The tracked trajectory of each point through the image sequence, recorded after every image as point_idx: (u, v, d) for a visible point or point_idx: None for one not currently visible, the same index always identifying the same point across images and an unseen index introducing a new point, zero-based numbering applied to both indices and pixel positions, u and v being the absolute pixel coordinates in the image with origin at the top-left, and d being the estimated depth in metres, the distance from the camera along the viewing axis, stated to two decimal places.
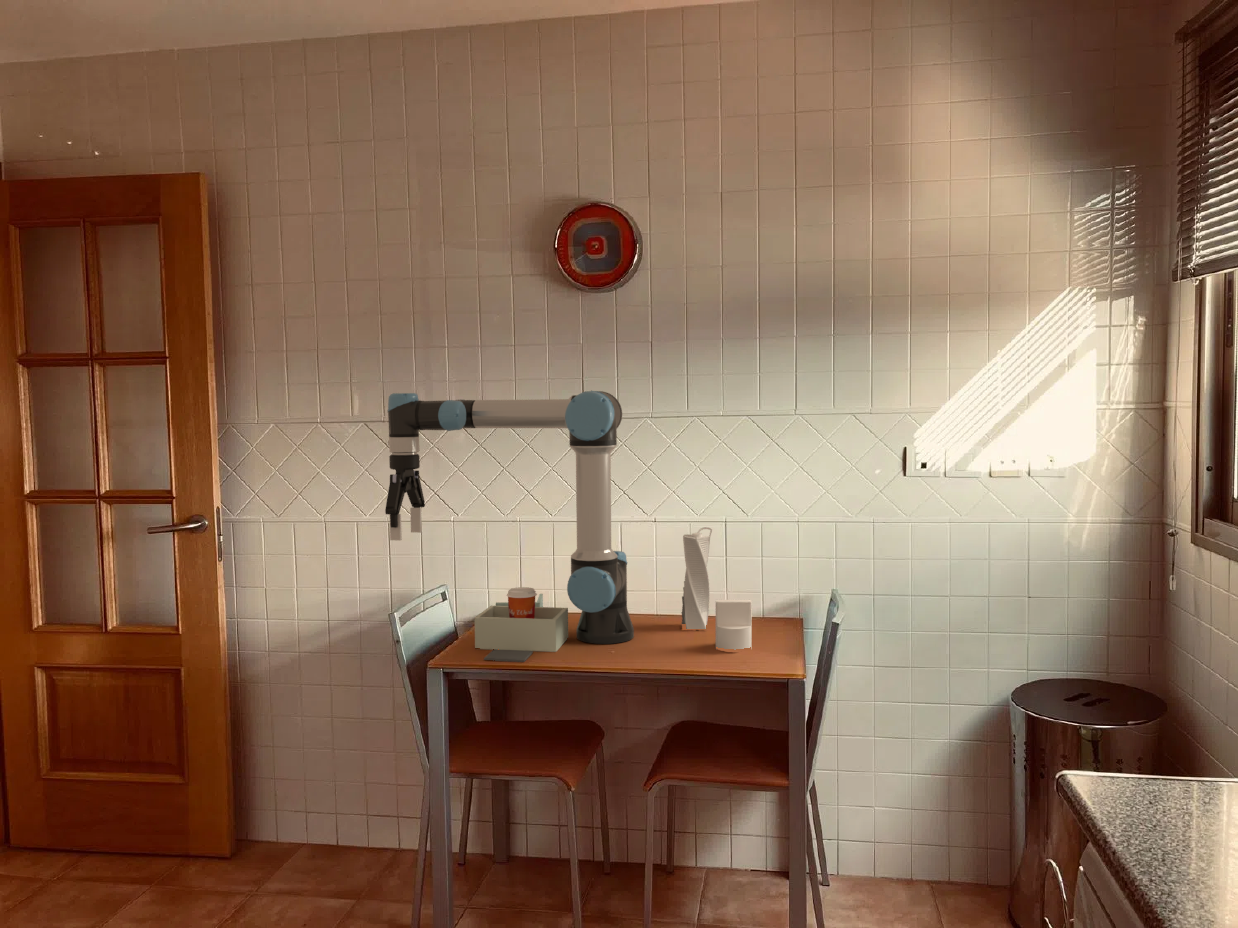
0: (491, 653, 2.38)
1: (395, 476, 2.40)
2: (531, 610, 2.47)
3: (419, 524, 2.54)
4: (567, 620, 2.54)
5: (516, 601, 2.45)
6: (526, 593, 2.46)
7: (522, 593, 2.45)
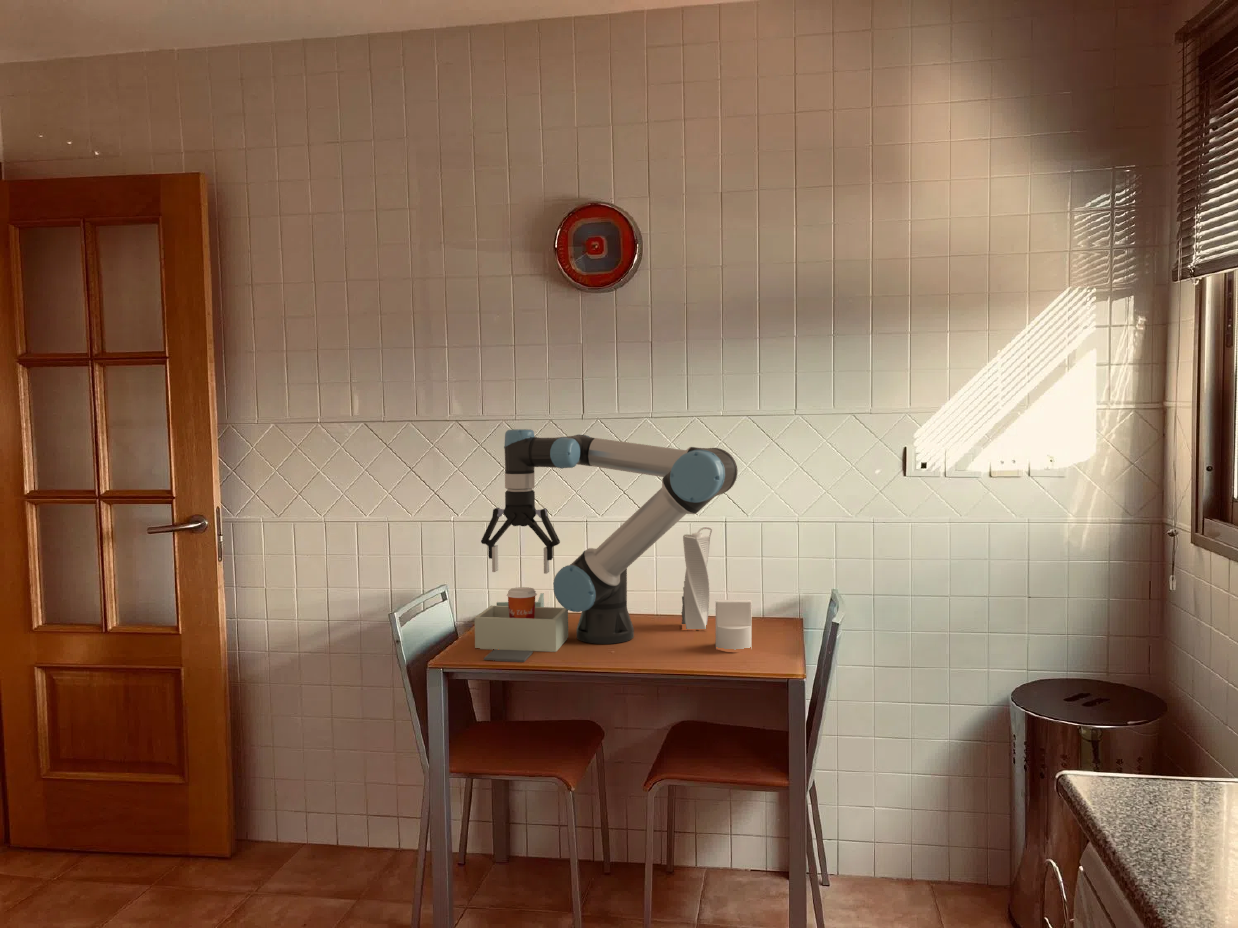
0: (491, 653, 2.38)
1: None
2: (531, 610, 2.47)
3: None
4: (567, 620, 2.54)
5: (516, 601, 2.45)
6: (526, 593, 2.46)
7: (522, 593, 2.45)
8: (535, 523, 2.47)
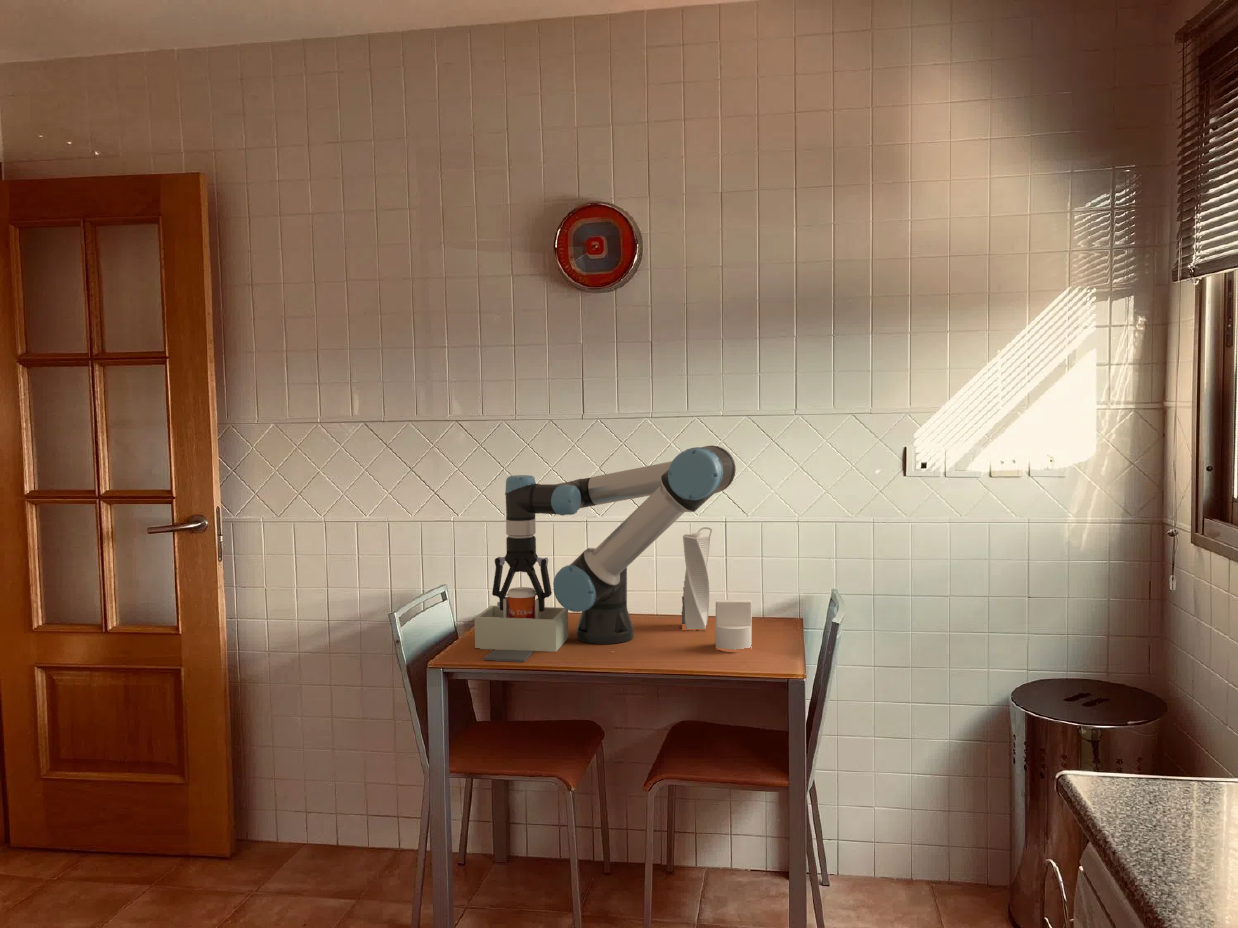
0: (491, 653, 2.38)
1: None
2: (531, 610, 2.47)
3: None
4: (567, 620, 2.54)
5: (516, 601, 2.45)
6: (526, 593, 2.46)
7: (522, 593, 2.45)
8: (533, 571, 2.48)
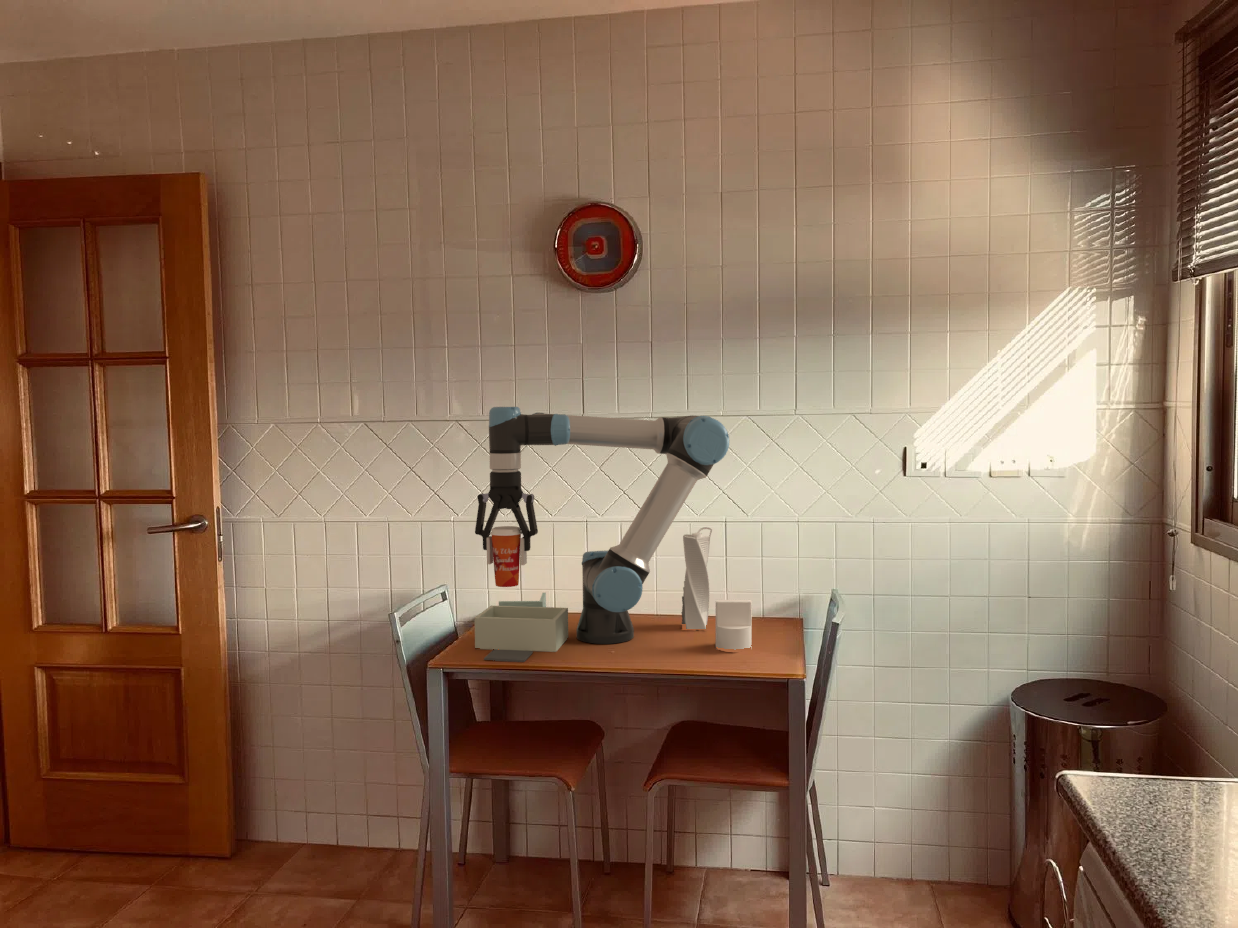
0: (491, 653, 2.38)
1: None
2: (516, 549, 2.33)
3: None
4: (567, 620, 2.54)
5: (500, 539, 2.31)
6: (511, 531, 2.32)
7: (506, 531, 2.31)
8: (518, 508, 2.34)
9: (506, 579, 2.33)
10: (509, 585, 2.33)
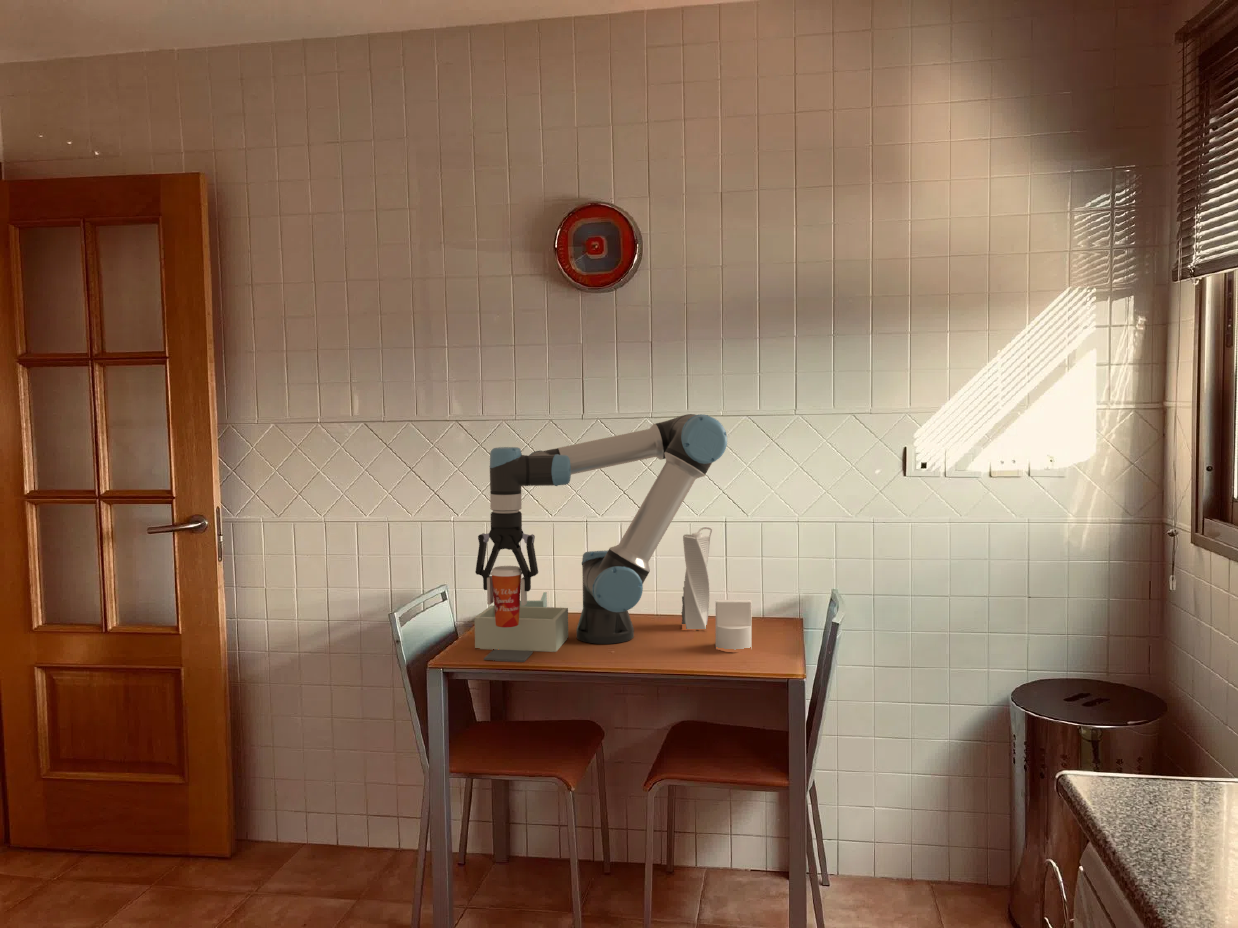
0: (491, 653, 2.38)
1: None
2: (516, 590, 2.34)
3: None
4: (567, 620, 2.54)
5: (500, 580, 2.32)
6: (511, 571, 2.32)
7: (507, 571, 2.32)
8: (519, 549, 2.35)
9: (506, 620, 2.33)
10: (509, 625, 2.34)
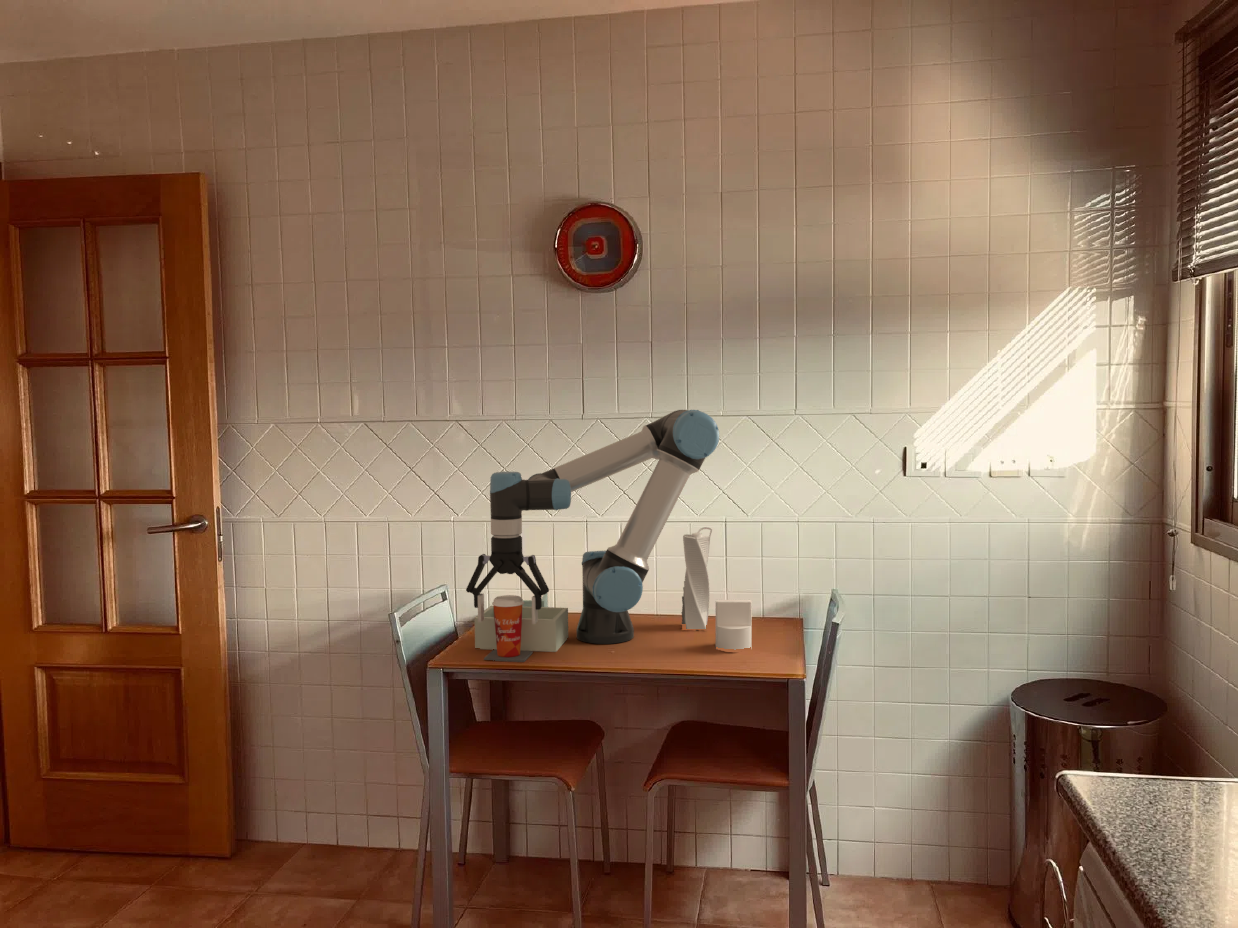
0: (491, 653, 2.38)
1: None
2: (518, 620, 2.34)
3: None
4: (567, 620, 2.54)
5: (502, 610, 2.33)
6: (512, 602, 2.33)
7: (508, 602, 2.32)
8: (523, 570, 2.35)
9: (508, 650, 2.34)
10: (511, 655, 2.34)
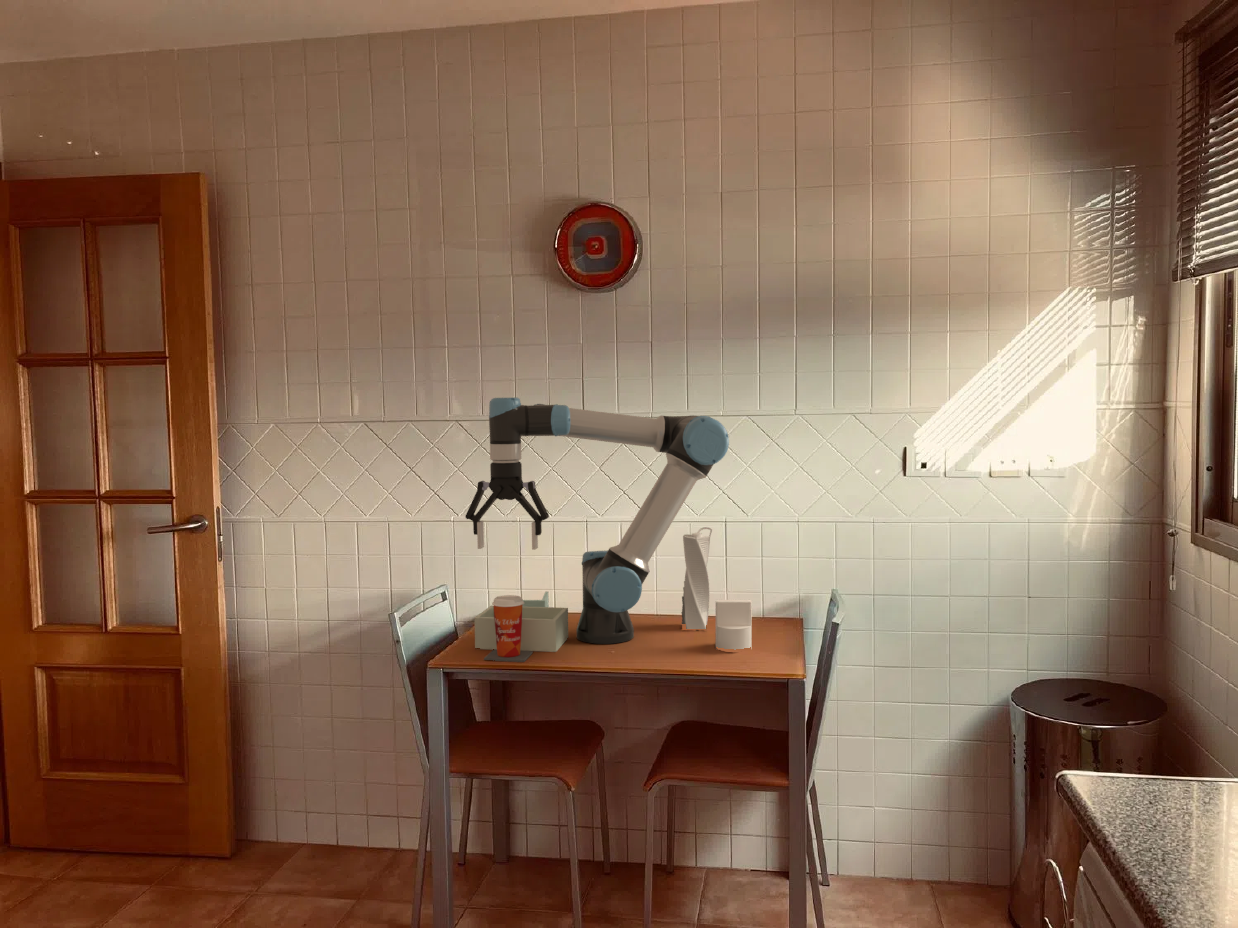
0: (491, 653, 2.38)
1: None
2: (518, 620, 2.34)
3: None
4: (567, 620, 2.54)
5: (502, 610, 2.33)
6: (512, 602, 2.33)
7: (508, 602, 2.32)
8: (522, 496, 2.34)
9: (508, 650, 2.34)
10: (511, 655, 2.34)
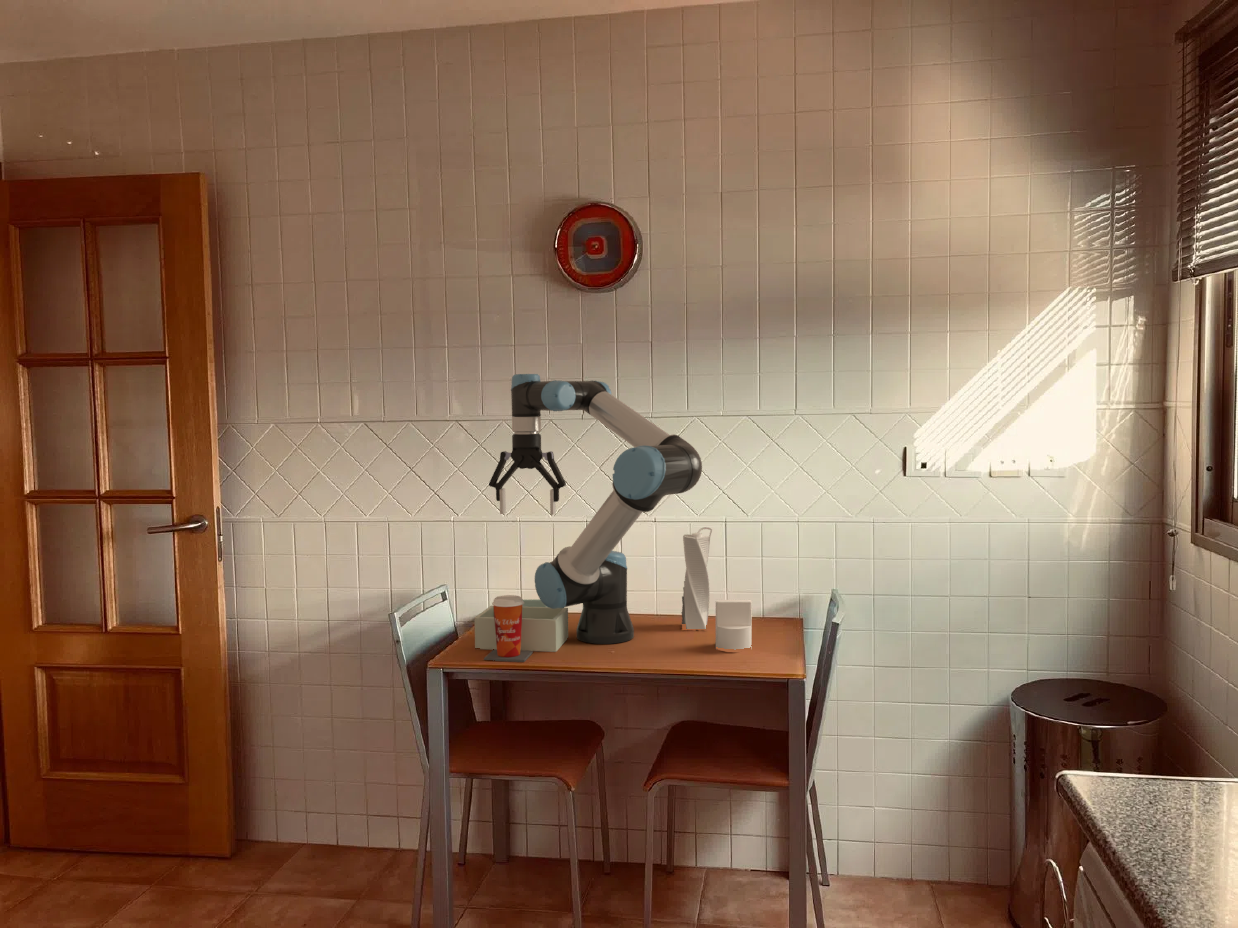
0: (491, 653, 2.38)
1: None
2: (518, 620, 2.34)
3: None
4: (567, 620, 2.54)
5: (502, 610, 2.33)
6: (512, 602, 2.33)
7: (508, 602, 2.32)
8: (541, 466, 2.53)
9: (508, 650, 2.34)
10: (511, 655, 2.34)
